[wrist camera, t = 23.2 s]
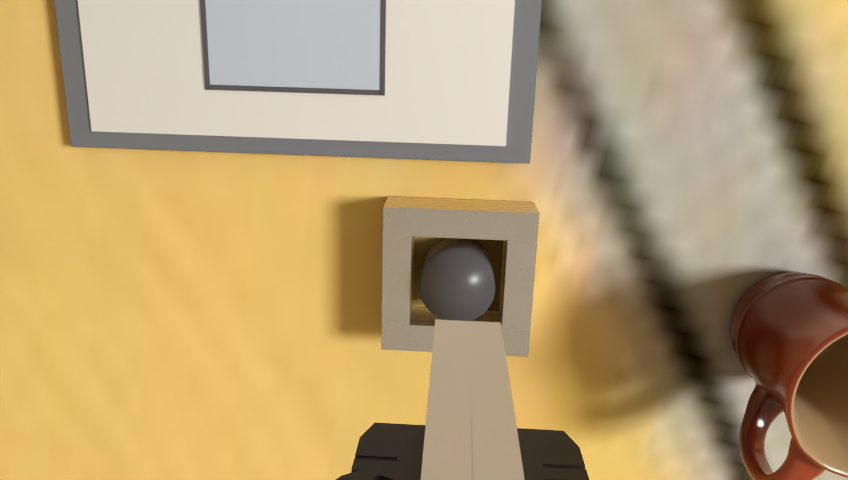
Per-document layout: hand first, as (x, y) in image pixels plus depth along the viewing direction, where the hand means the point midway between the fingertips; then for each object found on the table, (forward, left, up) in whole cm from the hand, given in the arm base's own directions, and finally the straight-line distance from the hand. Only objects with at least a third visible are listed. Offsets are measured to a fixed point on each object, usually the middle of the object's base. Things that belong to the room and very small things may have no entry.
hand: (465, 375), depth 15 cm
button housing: (0, -6, -26) cm, 27 cm away
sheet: (-10, +11, -26) cm, 30 cm away
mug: (+20, -10, -27) cm, 35 cm away
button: (0, -6, -26) cm, 26 cm away
